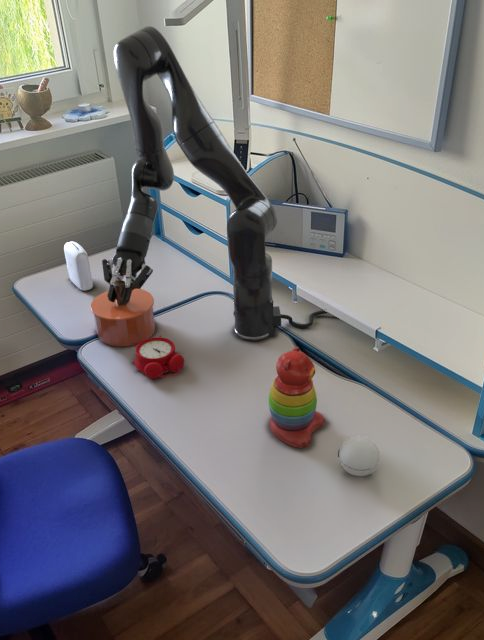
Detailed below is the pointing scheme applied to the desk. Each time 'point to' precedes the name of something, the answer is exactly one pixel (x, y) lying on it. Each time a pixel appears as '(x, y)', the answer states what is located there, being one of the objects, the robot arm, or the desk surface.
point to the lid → (118, 311)
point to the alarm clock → (157, 357)
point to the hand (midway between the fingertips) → (117, 302)
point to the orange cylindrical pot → (126, 330)
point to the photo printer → (78, 265)
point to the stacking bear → (294, 400)
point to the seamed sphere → (359, 455)
